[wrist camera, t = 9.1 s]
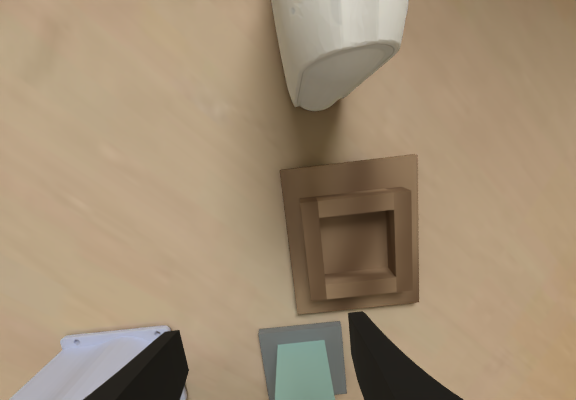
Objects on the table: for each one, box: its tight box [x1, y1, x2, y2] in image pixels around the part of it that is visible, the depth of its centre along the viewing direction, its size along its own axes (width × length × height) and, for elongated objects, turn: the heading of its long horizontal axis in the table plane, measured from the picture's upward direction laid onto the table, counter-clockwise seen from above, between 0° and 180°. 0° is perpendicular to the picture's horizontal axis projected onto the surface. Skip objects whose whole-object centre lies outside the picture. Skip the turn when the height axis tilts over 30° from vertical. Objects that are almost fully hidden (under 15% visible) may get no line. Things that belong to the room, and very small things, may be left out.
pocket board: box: [280, 154, 419, 314], centre depth 20 cm, size 10×12×2 cm
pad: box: [259, 321, 347, 400], centre depth 23 cm, size 7×7×1 cm
